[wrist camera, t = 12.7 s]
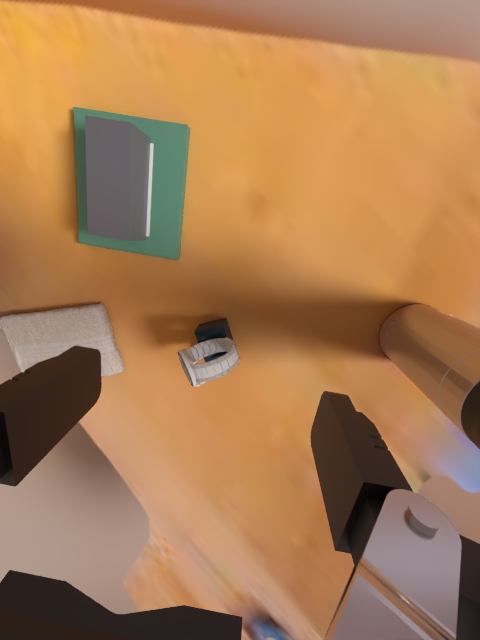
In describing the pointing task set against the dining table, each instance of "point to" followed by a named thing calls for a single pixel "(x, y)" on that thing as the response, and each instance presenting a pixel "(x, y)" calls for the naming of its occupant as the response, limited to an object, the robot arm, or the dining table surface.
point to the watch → (210, 353)
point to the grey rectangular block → (116, 179)
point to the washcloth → (62, 335)
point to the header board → (162, 189)
